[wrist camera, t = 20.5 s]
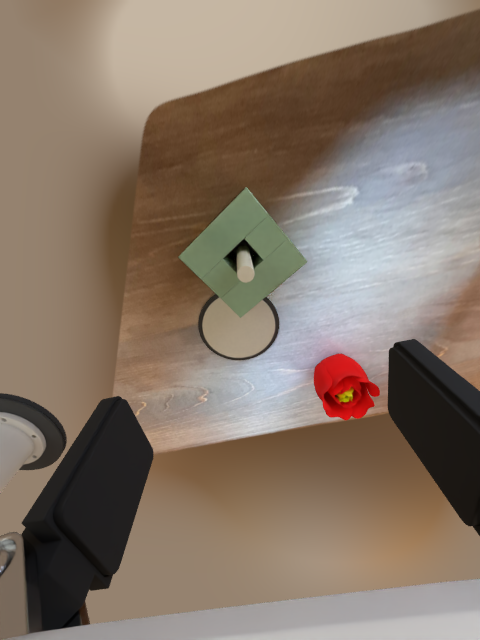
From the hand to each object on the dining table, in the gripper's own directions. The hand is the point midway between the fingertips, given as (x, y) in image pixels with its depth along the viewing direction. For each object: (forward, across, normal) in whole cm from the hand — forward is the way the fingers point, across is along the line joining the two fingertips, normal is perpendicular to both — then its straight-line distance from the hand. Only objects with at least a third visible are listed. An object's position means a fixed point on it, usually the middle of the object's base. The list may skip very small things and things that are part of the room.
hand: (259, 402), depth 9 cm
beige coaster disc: (+28, +3, +11) cm, 30 cm away
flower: (+28, -10, +22) cm, 37 cm away
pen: (+28, 0, 0) cm, 28 cm away
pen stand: (+28, 0, 0) cm, 28 cm away
